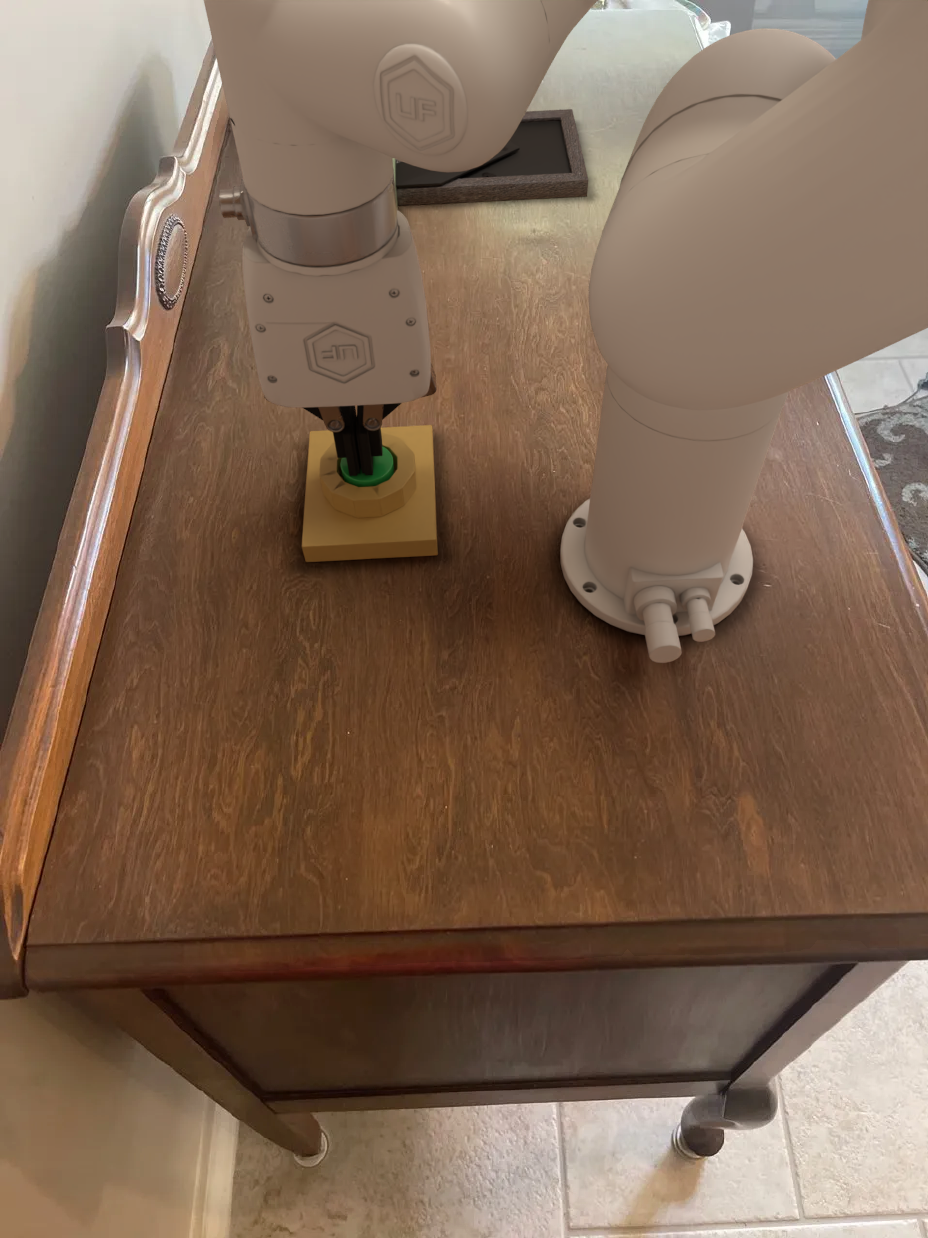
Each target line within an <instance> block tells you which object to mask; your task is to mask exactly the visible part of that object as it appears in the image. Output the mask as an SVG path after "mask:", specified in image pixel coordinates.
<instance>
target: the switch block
mask: <svg viewBox="0 0 928 1238" xmlns="http://www.w3.org/2000/svg"><path fill="white" fill-rule="evenodd" d="M433 432H434V431H433V424H426V425H425V424H424V425H423V424H421V425H406V426H405V425H404V426H388V427H387V426H385V427H381V434H382V446H383V447H384V448H386V449H387V450H388V451H389V452H390V453H391V455H392V457H393V463H394V471H395V473H394V474H393V475H392V477H391V478H390V479H389V480H388V481H385V482H383V483H381V484H379V485H377V486H372V487H357V486H354V485H351V484H349V483H346V482H344V481H343V476H342V471H341V459H342V458H338V457H337V452H336V447H335V441H334V436H333V432H331V431H329V430H328V429H326V430H310V431H309V435H308V437H309V438H308V451H307V467H306V481H305V492H304V495H305V496H304V506H303V507H304V508H303V521H302V537H301V549H302V554H303V556H304V560H305V563H316V562H317V563H318V562H335V561H353V560H371V559H372V560H375V559H392V558H393V559H394V558H395V559H396V558H410V557H411V558H412V557H432V556H433V557H434V556H438V554H439V552H438V526H437V524H438V523H437V501H436V500H437V499H436V475H435V452H434V451H435V448H434V435H433Z"/></svg>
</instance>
